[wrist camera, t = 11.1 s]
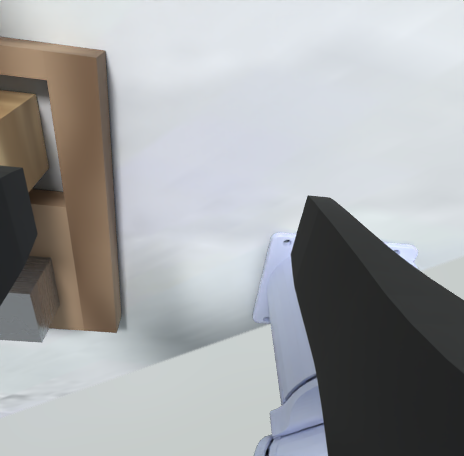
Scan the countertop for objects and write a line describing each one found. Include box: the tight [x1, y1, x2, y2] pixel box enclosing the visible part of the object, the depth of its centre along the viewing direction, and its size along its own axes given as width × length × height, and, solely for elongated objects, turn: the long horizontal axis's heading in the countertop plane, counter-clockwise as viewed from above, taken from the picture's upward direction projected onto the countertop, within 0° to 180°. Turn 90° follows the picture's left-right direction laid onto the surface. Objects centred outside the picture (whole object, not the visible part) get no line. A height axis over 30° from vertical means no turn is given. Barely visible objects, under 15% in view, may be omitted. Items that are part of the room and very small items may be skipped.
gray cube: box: [0, 256, 60, 342], centre depth 22 cm, size 4×4×4 cm
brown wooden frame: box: [0, 37, 121, 333], centre depth 21 cm, size 11×18×2 cm, turn 173°
